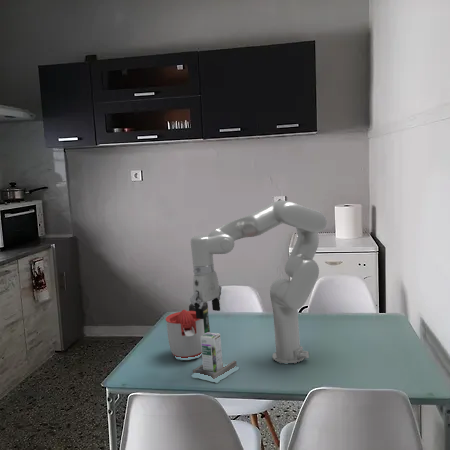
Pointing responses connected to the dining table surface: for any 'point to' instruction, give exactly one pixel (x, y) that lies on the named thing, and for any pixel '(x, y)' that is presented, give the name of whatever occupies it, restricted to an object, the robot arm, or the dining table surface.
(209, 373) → the rail board
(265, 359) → the dining table surface
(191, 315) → the citrus juicer
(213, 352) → the syrup box
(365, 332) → the dining table surface
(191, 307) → the coffee jar
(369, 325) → the dining table surface
